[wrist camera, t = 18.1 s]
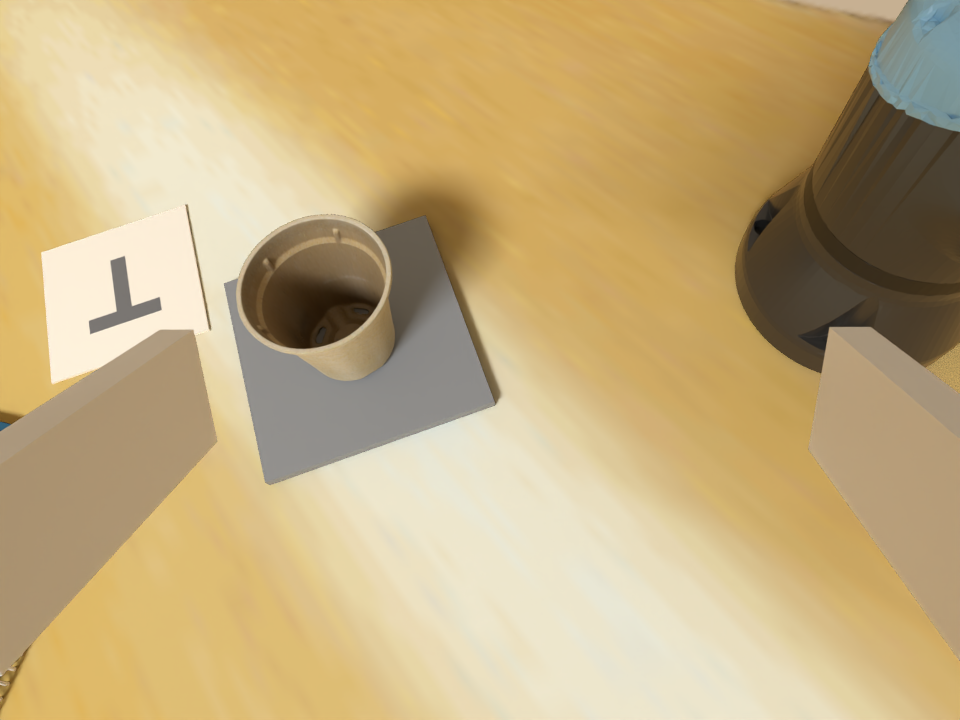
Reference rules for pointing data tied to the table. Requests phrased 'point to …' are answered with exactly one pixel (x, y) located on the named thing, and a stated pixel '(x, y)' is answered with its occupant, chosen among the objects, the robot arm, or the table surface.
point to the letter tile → (120, 291)
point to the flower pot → (321, 295)
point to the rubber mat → (383, 393)
